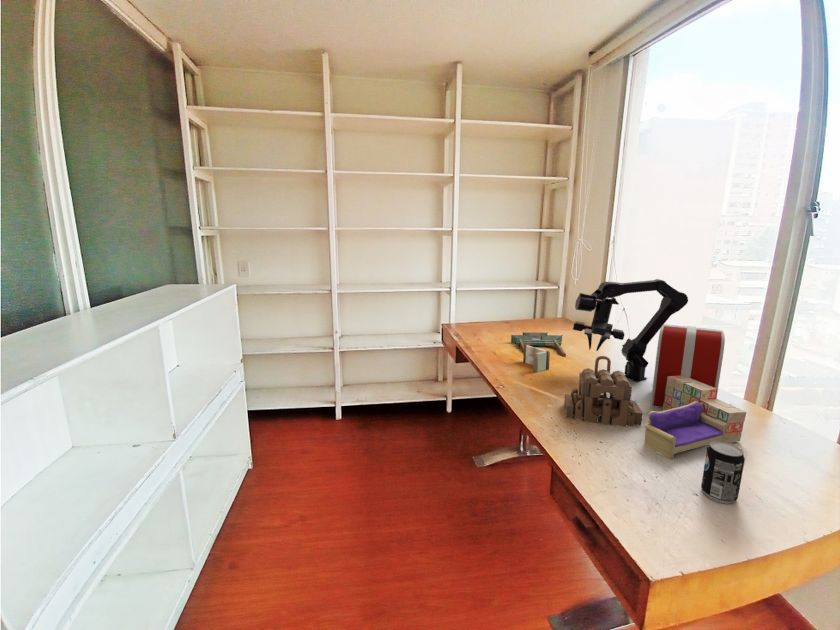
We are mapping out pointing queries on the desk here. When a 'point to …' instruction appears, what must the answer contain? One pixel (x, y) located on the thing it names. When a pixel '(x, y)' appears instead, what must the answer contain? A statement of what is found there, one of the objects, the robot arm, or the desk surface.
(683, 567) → the desk surface
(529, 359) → the fence section
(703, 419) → the toy sofa
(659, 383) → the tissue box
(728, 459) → the beverage can
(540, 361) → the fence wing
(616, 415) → the wooden puzzle
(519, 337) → the miniature gate
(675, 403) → the stack of blocks
